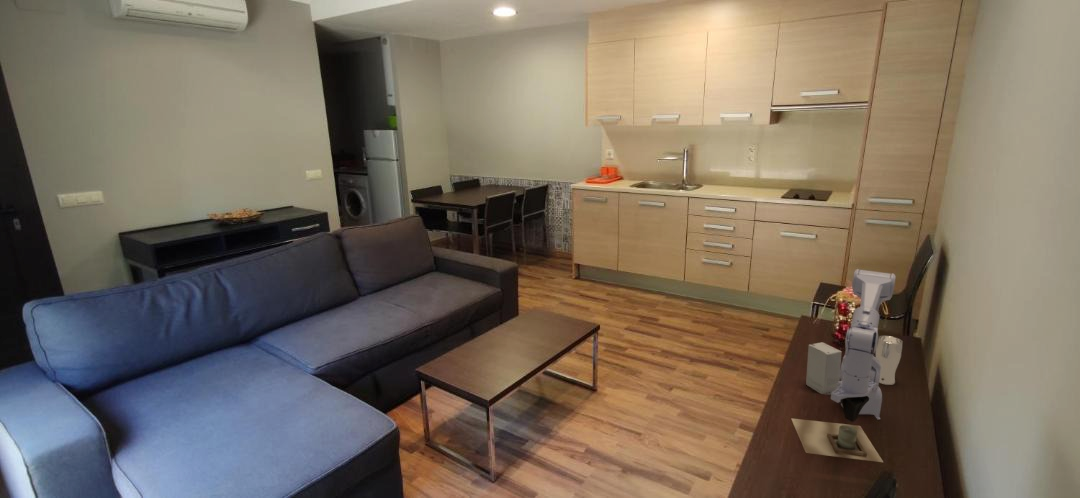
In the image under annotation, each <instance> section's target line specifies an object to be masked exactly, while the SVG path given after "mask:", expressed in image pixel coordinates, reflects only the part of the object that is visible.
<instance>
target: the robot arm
mask: <svg viewBox="0 0 1080 498" xmlns="http://www.w3.org/2000/svg"><path fill="white" fill-rule="evenodd" d="M896 277H897V276H896V275H895V273H893V272H892V273H889V272H881V271H874V270H865V269H859V268H856V269H855V270H854V272H853V276H852V284H851V288H852V292H853V295H854V296H857V298H859V299H860V306H858V307H857V308H855V310H854V311H853V315H852V318H851V319H852V320H851V324H850V327H848V328H847V330H846V334H845V343H844V344H845V345H844V346H845V353H844V356H843V357H842V360H841V367H840V380H839V382H838V384H839V387H838V388H837V389H836V390H835V391H834V392H832V393H831V395H830V400H832V401H833V402H836V403H837V404H839V403H840V405H841V407H842V410H843V415H844V419H846V420H847V421H850V422H855V421H857V419H858V417H859V415H872V416H873V415H874V417H875V418H876V420H879V421H880V420H881V417H880V415H881V408H882V403H883V393H882V390H881V388H880V386H879V385H880V383H879V380H880V373H881V364H880V361H879V360H878V359H877V358H876V356H875V355H874V354H876V347H877V342H878V338H879V333H878V332H879V328H878V327H879V322H880V313H879V309H880V306H881V305H882V303H883V302H885V301H890V300H891V298H893V295H894V291H895V290H894V289H895V285H896V279H897V278H896Z"/></svg>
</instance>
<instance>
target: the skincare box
mask: <svg viewBox="0 0 1080 498" xmlns="http://www.w3.org/2000/svg"><path fill="white" fill-rule="evenodd" d="M807 349H808V352H807V365H806V383H805V385H807V387H809V388H811V389H812V390H814V391H816V392H817V393H819V394H821V395H828V396H829V395H830V396H831V393H832V392H834V391H835V390H836V389H837V388H838V387H839V386H840V385H839V384H838V382H839V381H841V379H840V370H841V364H842V352H843V351H841V350H839V349H837V348H836V347H833V346H831V345H829V344H827V343H825V342H817V343H815V342H814V343H812V344H811V343H810V344H808V348H807Z"/></svg>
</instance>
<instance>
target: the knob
mask: <svg viewBox="0 0 1080 498" xmlns="http://www.w3.org/2000/svg"><path fill="white" fill-rule="evenodd" d="M856 436H857V430H856V429H855V428H853V427H851V426H847V425H841V426H840V427H839V434H838V441H837V445H838V446H839V447H840V448H842V449H848V450H854V449H855V443H856Z"/></svg>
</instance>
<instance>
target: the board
mask: <svg viewBox="0 0 1080 498" xmlns="http://www.w3.org/2000/svg"><path fill="white" fill-rule="evenodd" d="M790 420H791V422H792V424H793V427H794V428H795V431H796V433H797V436H798V437H799V440H800V442H801V445H802V448H803V450H804V452H805V453H806V454H812V455H820V456H828V457H829V456H830V457H836V458H845V459H853V460H859V461H860V460H861V461H868V462H877V463H884V460H883V459H882V457H881V456H880V454H879V453H878V451H877V450H876V449H875V447H874V445H873V444H872V442H871V440H870V438H868V436H867V434H866V432H865V431H864V430H863V428H862V426H861V425H856V424H855V425H854V424H845V423H838V422H837V423H836V422H829V421H818V420H812V419H811V420H809V419H801V418H790ZM841 425H847V426H851V427H853V428H855V429H856V430H857V436H856V443H855V449H854V450H848V449H842V448H840V447H839V446H838V445H837V441H838V434H839V427H840V426H841Z"/></svg>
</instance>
